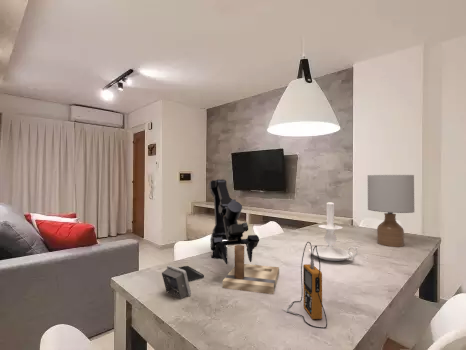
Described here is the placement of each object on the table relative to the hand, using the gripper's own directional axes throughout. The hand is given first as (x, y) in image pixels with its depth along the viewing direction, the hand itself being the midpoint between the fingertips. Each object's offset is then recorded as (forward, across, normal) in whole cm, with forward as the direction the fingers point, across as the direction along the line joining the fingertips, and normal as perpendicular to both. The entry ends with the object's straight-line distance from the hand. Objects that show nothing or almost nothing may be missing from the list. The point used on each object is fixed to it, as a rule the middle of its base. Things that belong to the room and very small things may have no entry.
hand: (239, 262), depth 93 cm
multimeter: (+23, +11, -12) cm, 28 cm away
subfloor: (+4, +6, +7) cm, 10 cm away
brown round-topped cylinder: (+6, 0, +5) cm, 8 cm away
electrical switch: (+8, -23, +4) cm, 24 cm away
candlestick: (-6, +53, +18) cm, 57 cm away
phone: (-4, -18, +17) cm, 25 cm away
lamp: (-18, +106, +30) cm, 112 cm away
